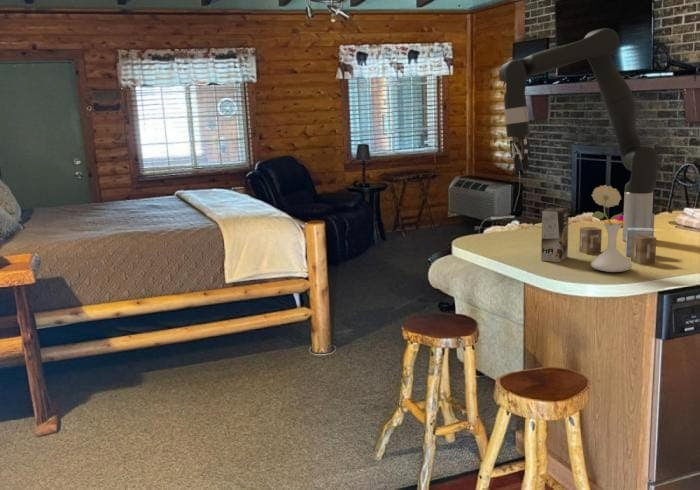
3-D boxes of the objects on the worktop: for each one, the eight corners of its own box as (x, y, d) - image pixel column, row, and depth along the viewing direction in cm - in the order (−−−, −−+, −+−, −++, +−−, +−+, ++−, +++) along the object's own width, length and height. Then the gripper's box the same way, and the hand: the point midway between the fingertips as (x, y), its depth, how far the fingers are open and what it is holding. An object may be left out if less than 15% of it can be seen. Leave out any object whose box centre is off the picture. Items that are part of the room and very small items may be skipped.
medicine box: (651, 254, 215) (653, 227, 214) (652, 257, 211) (654, 230, 209) (625, 253, 218) (626, 227, 216) (625, 256, 214) (627, 229, 212)
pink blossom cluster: (634, 226, 265) (634, 216, 264) (617, 228, 263) (617, 217, 262) (620, 223, 273) (620, 213, 272) (603, 225, 270) (604, 215, 270)
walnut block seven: (593, 250, 225) (594, 226, 223) (601, 253, 219) (602, 229, 218) (578, 251, 224) (579, 227, 222) (586, 254, 219) (586, 230, 217)
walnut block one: (645, 260, 208) (647, 234, 206) (655, 263, 203) (656, 237, 201) (630, 261, 207) (631, 235, 206) (639, 264, 202) (640, 238, 201)
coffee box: (560, 262, 209) (562, 211, 206) (540, 260, 212) (541, 210, 209) (568, 256, 216) (569, 207, 213) (548, 255, 220) (549, 206, 216)
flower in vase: (640, 270, 195) (644, 185, 190) (616, 277, 189) (620, 189, 184) (600, 263, 206) (603, 182, 201) (577, 269, 199) (580, 185, 195)
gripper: (534, 119, 217) (539, 169, 219) (521, 121, 231) (526, 168, 233) (512, 122, 216) (517, 172, 219) (500, 124, 231) (504, 171, 233)
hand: (521, 170), depth 226 cm, fingers open, 8 cm apart
